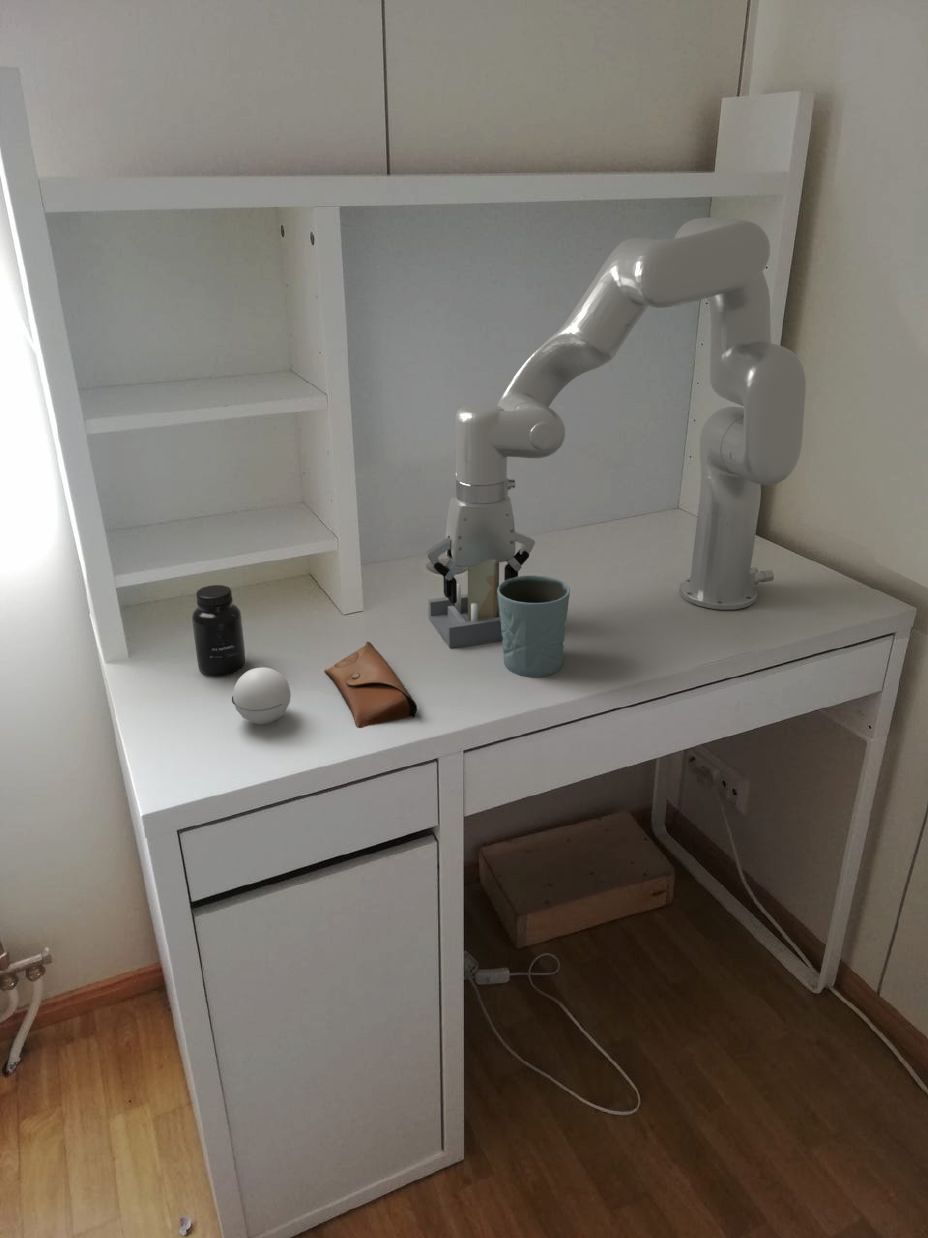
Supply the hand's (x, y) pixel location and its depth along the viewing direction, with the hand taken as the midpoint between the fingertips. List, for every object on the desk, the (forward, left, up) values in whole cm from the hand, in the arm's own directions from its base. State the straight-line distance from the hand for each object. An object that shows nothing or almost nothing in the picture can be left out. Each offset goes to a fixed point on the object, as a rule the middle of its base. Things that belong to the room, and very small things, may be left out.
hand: (481, 595), depth 142 cm
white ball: (+37, +18, -6) cm, 42 cm away
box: (0, 0, -4) cm, 5 cm away
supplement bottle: (+40, 0, -6) cm, 40 cm away
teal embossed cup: (-3, +14, -6) cm, 15 cm away
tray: (0, 0, -5) cm, 5 cm away
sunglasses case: (+22, +14, -6) cm, 27 cm away
